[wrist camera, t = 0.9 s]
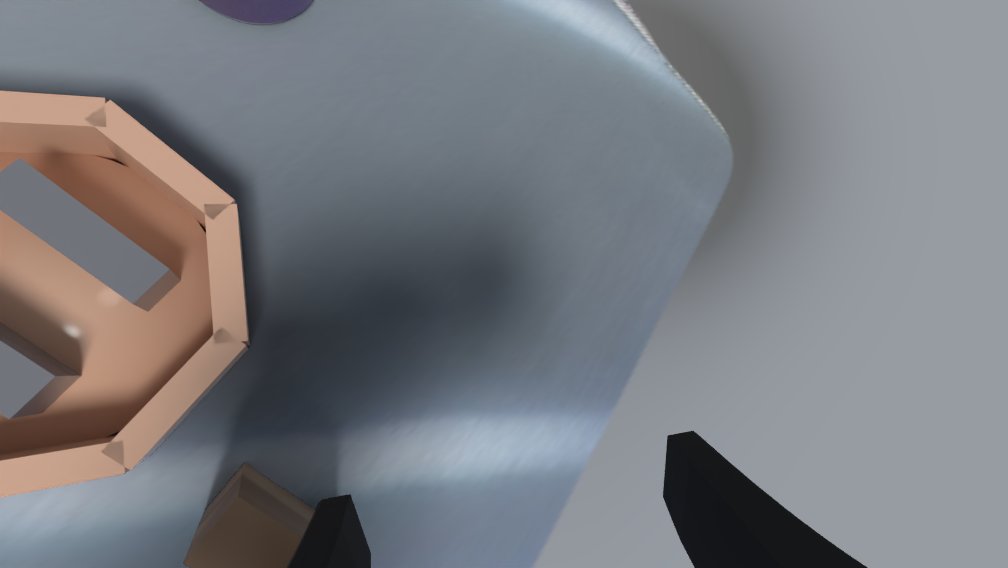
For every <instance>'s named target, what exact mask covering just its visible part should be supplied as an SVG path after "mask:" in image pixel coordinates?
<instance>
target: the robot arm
mask: <svg viewBox="0 0 1008 568" xmlns="http://www.w3.org/2000/svg"><path fill="white" fill-rule="evenodd" d="M663 498H664V500H665V503H666V505H667V508H668V511H669V513H670V516H671V518H672V521H673V523H674V526H675V528H676V530H677V533H678V535H679V538H680V540H681V542H682V544H683V546H684V548H685V550H686V552H687V554H688V556H689V558H690V559H691V561H692V563H693V565H694V567H695V568H867V567H866V566H864V565H863V564H861V563H860V562H858V561H857V560H855V559H854V558H852V557H851V556H849V555H848V554H846V553H845V552H844V551H842V550H841V549H839V548H838V547H836V546H835V545H834V544H832V543H831V542H829V541H828V540H827V539H825V538H824V537H823V536H821V535H820V534H818V533H817V532H816V531H814V530H813V529H812V528H810V527H809V526H808V525H806V524H805V523H804V522H802V521H801V520H800V519H798V518H797V517H796V516H794V515H793V514H792V513H791V512H789V511H788V510H787V509H785V508H784V507H783V506H782V505H780V504H779V503H778V502H777V501H775V500H774V499H773V498H772V497H771V496H769V495H768V494H767V493H766V492H764V491H763V490H762V489H761V488H759V487H758V486H757V485H756V484H755V483H753V482H752V481H751V480H750V479H748V478H747V477H746V476H745V475H744V474H743V473H741V472H740V471H739V470H738V469H737V468H736V467H734V466H733V465H732V464H731V463H730V462H728V461H727V460H726V459H725V458H724V457H723V456H722V455H721V454H720V453H718V452H717V451H716V450H715V449H714V448H713V447H711V446H710V445H709V444H708V443H707V442H706V441H705V440H704V439H702V438H701V437H700V436H699V435H698V434H697V433H695V432H694V431H690V432H684V433H679V434H674V435H669V436H668V439H667V452H666V465H665V477H664V490H663ZM287 568H371V553H370V550H369V547H368V544H367V541H366V538H365V535H364V533H363V530H362V527H361V524H360V521H359V518H358V515H357V512H356V509H355V507H354V504H353V501H352V498H351V495H344V496H339V497H333V498H328V499H323V500H321V501H320V503H319V504H318V505H317V508H316V510H315V512H314V514H313V516H312V518H311V520H310V522H309V524H308V526H307V529H306V531H305V533H304V535H303V537H302V539H301V541H300V543H299V545H298V547H297V549H296V551H295V553H294V554H293V556H292V558H291V560H290V562H289V564H288V566H287Z"/></svg>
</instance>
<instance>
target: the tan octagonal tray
mask: <svg viewBox="0 0 1008 568" xmlns="http://www.w3.org/2000/svg"><path fill="white" fill-rule="evenodd" d="M203 229H204V230H205V231H206V233H205V232H204V230H203ZM247 345H250V340H249V327H248V315H247V302H246V290H245V277H244V265H243V252H242V240H241V228H240V221H239V214H238V208H237V204H235V200H234V199H233V198H232V197H231V196H229V195H228V194H227V193H226V192H224V191H223V190H222V189H221V188H219V187H218V186H217V185H216V184H214V183H213V182H212V181H211V180H209V179H208V178H207V177H206V176H204V175H203V174H202V173H201V172H199V171H198V170H197V169H196V168H194V167H193V166H192V165H191V164H189V163H188V162H187V161H186V160H185V159H183V158H182V157H181V156H180V155H178V154H177V153H176V152H175V151H173V150H172V149H171V148H170V147H168V146H167V145H166V144H165V143H163V142H162V141H161V140H160V139H158V138H157V137H156V136H155V135H153V134H152V133H151V132H150V131H148V130H147V129H146V128H145V127H144V126H142V125H141V124H140V123H139V122H137V121H136V120H135V119H134V118H132V117H131V116H130V115H129V114H127V113H126V112H125V111H124V110H122V109H121V108H120V107H119V106H117V105H116V104H115V103H114V102H112V101H111V100H109V101H108V102H107V101H106V99H105V98H101V97H86V96H71V95H57V94H42V93H27V92H12V91H0V498H1V497H6V496H11V495H16V494H22V493H27V492H32V491H37V490H43V489H48V488H53V487H58V486H64V485H69V484H74V483H79V482H84V481H90V480H95V479H100V478H105V477H111V476H116V475H121V474H125V473H127V472H128V471H129V470H132V469H133V468H135V467H136V466H137V465H139V464H140V463H141V462H143V461H144V460H145V459H146V458H148V457H149V456H150V455H152V454H153V453H154V452H155V451H156V450H157V448H158V447H159V446H160V445H161V444H162V443H163V442H164V441H165V440H166V439H167V438H168V436H169V435H170V434H171V433H172V432H173V431H174V430H175V429H176V428H177V427H178V426H179V424H180V423H181V422H182V421H183V420H184V419H185V418H186V417H187V416H188V415H189V413H190V412H191V411H192V410H193V409H194V408H195V407H196V406H197V405H198V404H199V403H200V401H201V400H202V399H203V398H204V397H205V396H206V395H207V394H208V393H209V392H210V391H211V389H212V388H213V387H214V386H215V385H216V384H217V383H218V382H219V381H220V380H221V379H222V377H223V376H224V375H225V374H226V373H227V372H228V371H229V370H230V369H231V368H232V367H233V365H234V364H235V363H236V362H237V361H238V360H239V359H240V358H241V357H242V356H243V355H244V353H245V352H246V351H247V350H248V347H247ZM118 431H120V432H119V433H116V432H118ZM114 433H116V434H114Z"/></svg>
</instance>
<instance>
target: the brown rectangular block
mask: <svg viewBox="0 0 1008 568" xmlns="http://www.w3.org/2000/svg"><path fill="white" fill-rule="evenodd" d="M314 512H315V509H313V508H312V507H310V506H309V505H307V504H306V503H304V502H303V501H301V500H300V499H298V498H297V497H295V496H294V495H292V494H291V493H289V492H288V491H286V490H285V489H283V488H282V487H280V486H279V485H277V484H276V483H274V482H273V481H271V480H270V479H268V478H267V477H265V476H264V475H262V474H261V473H259V472H258V471H256V470H255V469H253V468H252V467H250V466H249V465H247V464H246V463H243V465H242V466H241V467H240V468H239V469H238V471H237V472H236V473H235V474H234V475H233V477H232V478H231V479H230V480H229V481H228V483H227V484H226V485H225V486H224V487H223V489H222V490H221V491H220V492H219V493H218V495H217V496H216V497H215V498H214V499H213V501H212V502H211V503H210V504H209V505H208V507H207V508H206V509H205V511H204V513H203V516H202V518H201V521H200V523H199V526H198V528H197V531H196V533H195V535H194V538H193V540H192V543H191V545H190V548H189V550H188V553H187V555H186V558H185V560H184V562H183V564H185V565H187V566H188V567H190V568H287V566H288V564H289V562H290V560H291V558H292V556H293V554H294V553H295V551H296V549H297V547H298V545H299V543H300V541H301V539H302V537H303V535H304V533H305V531H306V529H307V526H308V524H309V522H310V520H311V518H312V516H313V514H314Z"/></svg>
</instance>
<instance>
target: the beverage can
mask: <svg viewBox="0 0 1008 568" xmlns="http://www.w3.org/2000/svg"><path fill="white" fill-rule="evenodd" d="M200 1H201V2H202V3H204V4H205V5H207V6H208V7H210V8H211V9H213V10H215V11H216V12H218V13H220V14H222V15H224V16H226V17H229V18H231V19H234V20H237V21H240V22H245V23H250V24H274V23H278V22H282V21H285V20H288V19H290V18H293V17H295V16H296V15H298V14H300V13H301V12H303V11H304V10H305V9H306V8H307V7H308V6H309V5H310V4H311V2H312V1H313V0H200Z"/></svg>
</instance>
